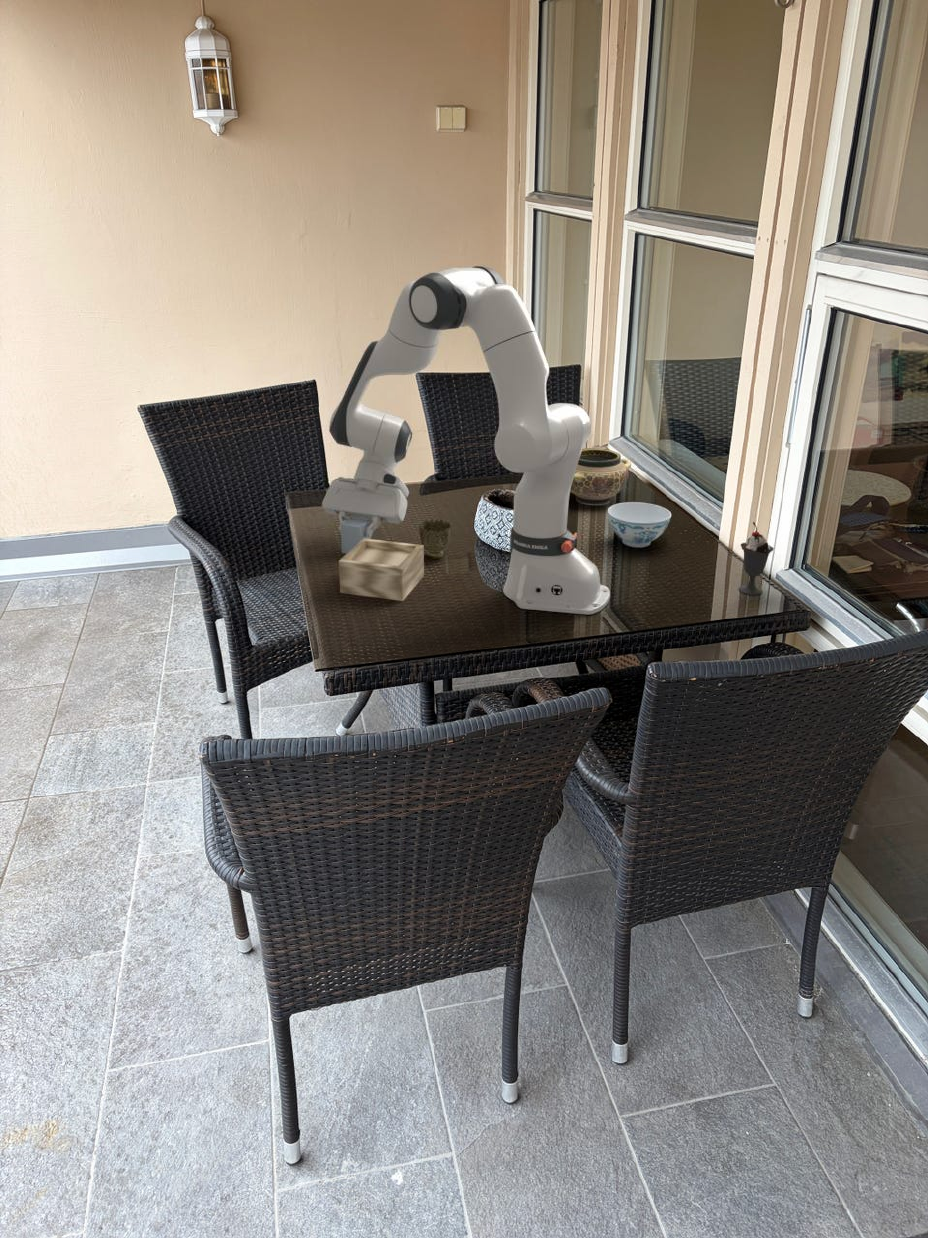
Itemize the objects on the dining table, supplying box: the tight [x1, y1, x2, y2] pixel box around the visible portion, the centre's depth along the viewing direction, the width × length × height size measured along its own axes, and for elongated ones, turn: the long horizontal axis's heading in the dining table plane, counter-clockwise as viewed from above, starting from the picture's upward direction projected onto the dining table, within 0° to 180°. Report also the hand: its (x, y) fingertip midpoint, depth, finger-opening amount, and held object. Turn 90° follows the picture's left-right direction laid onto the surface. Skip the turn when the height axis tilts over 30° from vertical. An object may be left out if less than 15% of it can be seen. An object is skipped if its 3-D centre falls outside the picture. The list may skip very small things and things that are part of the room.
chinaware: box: [607, 501, 672, 548], centre depth 224 cm, size 15×15×8 cm
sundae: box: [738, 521, 775, 596], centre depth 197 cm, size 7×7×15 cm
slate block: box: [340, 517, 372, 555], centre depth 216 cm, size 5×5×7 cm
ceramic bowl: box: [570, 447, 632, 506], centre depth 251 cm, size 24×18×15 cm
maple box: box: [338, 538, 425, 602], centre depth 200 cm, size 14×14×8 cm
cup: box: [418, 518, 452, 560], centre depth 214 cm, size 8×7×8 cm
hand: (354, 533), depth 215 cm, fingers closed on slate block, 5 cm apart
